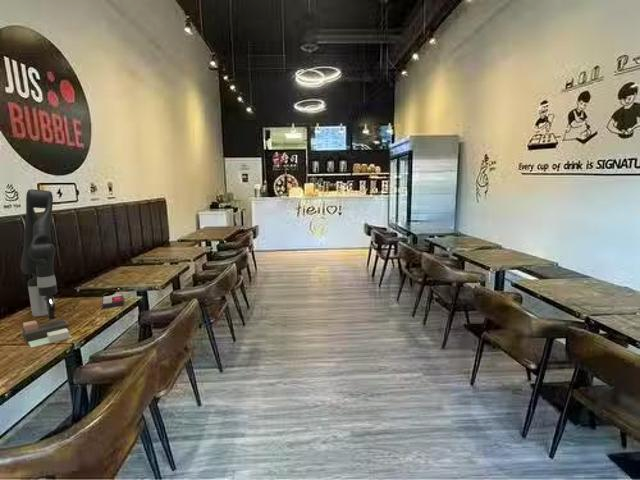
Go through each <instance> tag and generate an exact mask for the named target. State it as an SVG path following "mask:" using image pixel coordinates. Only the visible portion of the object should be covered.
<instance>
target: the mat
mask: <svg viewBox="0 0 640 480" xmlns="http://www.w3.org/2000/svg"><path fill="white" fill-rule="evenodd" d="M68 339H69V340H70V339H73V337H72V335H71V334H70V338H66V339H62V340H58V342H60V341H64V340H68ZM56 342H57V341H54V343H56ZM27 344H28V345H29V348H30V349H34V348H38V347H41V346H46V345H49V344H53V342H49V340H48V337H46V338H42V339H38V340H34V341H30V342H28V343H27ZM33 347H34V348H33Z"/></svg>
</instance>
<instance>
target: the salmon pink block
mask: <svg viewBox="0 0 640 480" xmlns="http://www.w3.org/2000/svg"><path fill="white" fill-rule="evenodd" d="M22 324H23V328H24V330H25V332H28V331H32V330H37V329H38V324H39V323H38V322H37V321H36V320H30V321H26V322H22Z"/></svg>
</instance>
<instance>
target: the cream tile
mask: <svg viewBox="0 0 640 480" xmlns="http://www.w3.org/2000/svg"><path fill="white" fill-rule="evenodd" d="M68 329H69V328H68ZM68 329H67V328H65V329H61V330H57V331H53V332H49V333H47V337H48V340H49V342H54V341H58V340H62V339H65V340H67V339H66V338H69V339H71V338H70V335H71V334H70V333H71V332H70V331H68ZM62 341H63V340H62ZM58 342H59V341H58ZM54 343H55V342H54Z"/></svg>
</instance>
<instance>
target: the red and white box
mask: <svg viewBox="0 0 640 480" xmlns="http://www.w3.org/2000/svg"><path fill="white" fill-rule="evenodd" d="M101 301H102V304H101V306H102V307H101V308H102V310H105V309H111V308H119V307H123V306H124V295H123V294H122V293H119V294H113V295H107V296H103V297H102V300H101Z"/></svg>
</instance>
